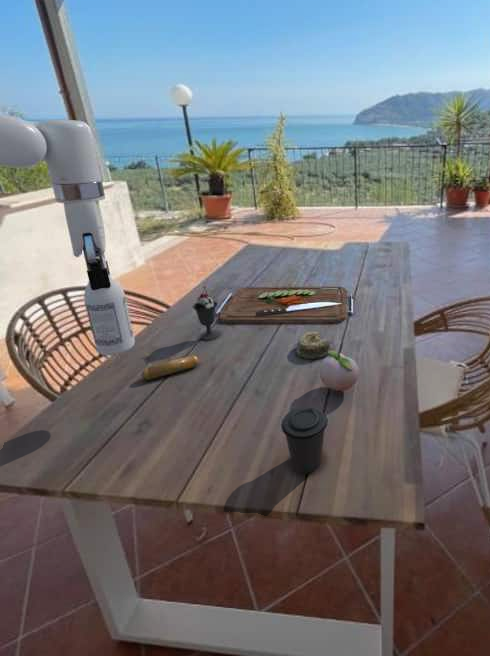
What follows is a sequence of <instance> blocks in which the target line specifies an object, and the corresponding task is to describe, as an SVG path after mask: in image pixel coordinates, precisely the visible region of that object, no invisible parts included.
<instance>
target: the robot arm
mask: <svg viewBox="0 0 490 656" xmlns="http://www.w3.org/2000/svg"><path fill="white" fill-rule="evenodd" d="M41 162H45V164H46V167H47V171H48V175H49V178H50V183H51V186H52V191H53V194H54V198H55V202H56V203H58V204H63V208H64V215H65V221H66V224H67V229H68V230H67V231H68V234H69V239H70V243H71V248H72V253H73V256H74V257H76V258H79V257H80V256H82V254H83V257H84V261H85V265H86V274H87V277H88V282H90V286H91V289H92V290H98V289H101V288H110V287H111V284H110V280H109V275H110V276H111V273H110V268H109V263H108V261H107V260H106V255H105V252H106V248H107V247H106V245H107V244H106V232H105V226H104V220H103V215H102V210H101V206H100V201H103V200H105V199H106V195H105V194H106V193H105V190H104V183H103V180H102V175H101V171H100V166H99V162H98V156H97V153H96V148H95V143H94V138H93V134H92V130H91V128H90V126H89V125H88V124H87V123H86V122H84V121H81V120H77V119H76V120H75V119H44V120H42V121H35V120H25V119H22V118H19V117H16V116H11V115H7V114H3V113H0V167H5V168H9V169H10V168H11V169H28V168H32V167H35V166H36V165H38V164H39V163H41ZM97 257H99V258H97ZM103 257H104V258H105V261H106V265H107V268H105V265H104V261H103ZM99 259H100V260H99ZM107 270H108V271H107ZM108 274H109V275H108Z"/></svg>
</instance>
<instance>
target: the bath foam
mask: <svg viewBox="0 0 490 656" xmlns="http://www.w3.org/2000/svg"><path fill="white" fill-rule="evenodd" d="M97 258H99V257H97ZM99 260H100V259H99ZM105 260H106V257H105V258H104V257H103V261H104V265H105V268H107V265H106V261H107V260H106V261H105ZM107 271H108V270H107ZM108 275H109V274H108ZM109 280H110V284H111V287H110V288H101V289H98V290H92V289H91V286H90V282H89V281H88V283H87V284H86V287H85V289H84V293H83V300H84V301H83V302H84V306H85V309H86V313H87V314H86V315H87V318H88V321H89V325H90V330H91V333H92V337H93V341H94V345H95V347H96V352H97V353H98V354H99V355H101V356H106V357H107V356H109V357H110V356H117V355H120V354H124V353H126V352H127V351H130V350H131V349H132V348H133V347H134V346H135V343H136V340H135V336H134V330H133V326H132V320H131V317H130V311H129V307H128V301H127V298H126V294H125V291H124V288H123V287H122V286H121V284H120V283H119V282H118V281H117V280H116V279H115V278H114V277H113V276H112V275H111V274H110V275H109Z"/></svg>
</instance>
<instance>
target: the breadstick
mask: <svg viewBox="0 0 490 656" xmlns="http://www.w3.org/2000/svg"><path fill="white" fill-rule="evenodd" d="M199 361H200V359H199V357H198V356H197V355H189V356H185V357H181V358H177V359H174V360H170V361H166V362H163V363H159V364H155V365H151V366H148V367H145V368H144V369H143V370H142V371H141V374H140V375H141V378H142V380H143V379H144V380H145V381H150V380H154V379H157V378H161V377H164V376H168V375H171V374H175V373H178V372H182V371H185V370H189V369H193V368H196V367H197V366H198V365H199V363H200V362H199Z"/></svg>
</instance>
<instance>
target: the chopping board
mask: <svg viewBox="0 0 490 656" xmlns="http://www.w3.org/2000/svg"><path fill="white" fill-rule="evenodd" d="M321 288H338V289H321ZM341 289H342V290H343V293H342V290H341ZM347 291H348V290H347V288H346V287H343V286H244V287H243V286H242V287H240V288H238V289H237V291H235V293H234V294H232V293H231V292H230V293H229V294H228V295H227V297H226V298H225V300H224V301H223V302H222V303H221V305H220V307H218V309H217V310H216V311H215V316H218V315H219V314H220V315H219V321H220V323H222V324H337V323H338V324H339V323H342V322H344V321H345V320H346V318H347V313H350V314H351V315H353V314H354V298H353V299H352V293H353V292H351V294H347V293H348V292H347ZM339 293H340V295H339ZM231 297H232V298H231ZM347 297H350V302H351V303H350V310H347ZM230 298H231V299H230ZM228 301H229V302H228ZM223 308H224V309H223ZM222 309H223V310H222Z"/></svg>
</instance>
